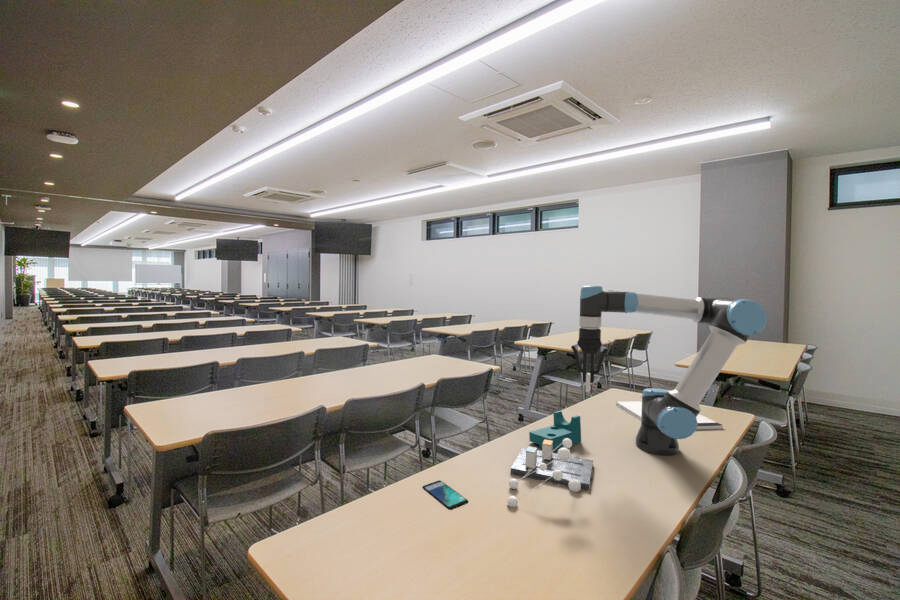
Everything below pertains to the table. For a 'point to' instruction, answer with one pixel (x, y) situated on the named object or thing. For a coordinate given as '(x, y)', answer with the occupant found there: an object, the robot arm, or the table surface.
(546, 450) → the fader
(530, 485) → the table surface
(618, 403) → the flat white panel
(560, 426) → the teal l-shaped bracket
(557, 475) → the molecule model
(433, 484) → the smartphone
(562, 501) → the table surface
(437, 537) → the table surface
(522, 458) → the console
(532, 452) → the block
